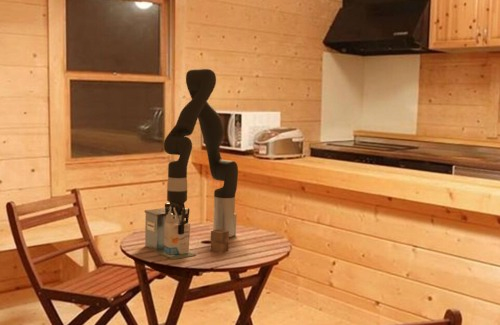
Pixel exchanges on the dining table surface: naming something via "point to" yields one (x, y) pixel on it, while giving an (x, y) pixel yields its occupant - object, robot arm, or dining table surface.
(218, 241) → the walnut block
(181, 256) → the pad
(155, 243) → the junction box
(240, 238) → the dining table surface
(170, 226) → the ink box
